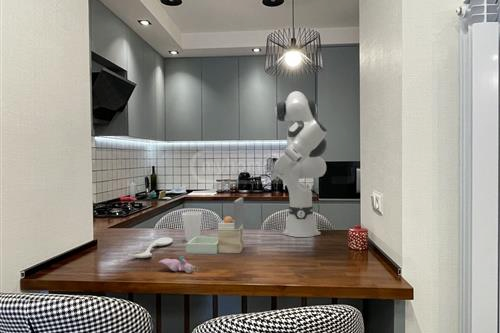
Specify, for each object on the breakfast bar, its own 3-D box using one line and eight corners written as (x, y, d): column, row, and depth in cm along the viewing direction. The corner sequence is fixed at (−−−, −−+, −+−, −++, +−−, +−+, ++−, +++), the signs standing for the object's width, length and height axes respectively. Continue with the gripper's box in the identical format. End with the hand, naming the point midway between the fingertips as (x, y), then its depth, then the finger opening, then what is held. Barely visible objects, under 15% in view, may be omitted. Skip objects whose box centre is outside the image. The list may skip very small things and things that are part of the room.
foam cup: (204, 237, 170) (203, 211, 170) (200, 242, 161) (199, 214, 161) (185, 237, 171) (185, 211, 171) (180, 242, 162) (179, 214, 162)
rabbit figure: (200, 273, 121) (164, 263, 126) (202, 257, 120) (165, 247, 125) (191, 279, 115) (153, 268, 120) (193, 262, 114) (155, 252, 119)
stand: (223, 247, 151) (222, 226, 151) (243, 247, 150) (243, 226, 150) (218, 252, 142) (217, 231, 142) (239, 253, 141) (239, 231, 141)
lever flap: (243, 225, 152) (243, 197, 152) (238, 232, 138) (237, 201, 138) (224, 225, 153) (223, 197, 153) (216, 231, 140) (215, 201, 139)
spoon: (127, 262, 132) (126, 253, 132) (157, 242, 164) (157, 235, 164) (149, 262, 132) (149, 253, 131) (175, 242, 163) (175, 235, 163)
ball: (224, 224, 148) (224, 215, 148) (233, 224, 148) (234, 215, 147) (222, 226, 144) (222, 216, 144) (232, 226, 144) (232, 217, 144)
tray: (195, 245, 155) (195, 236, 155) (223, 245, 153) (223, 236, 153) (186, 253, 142) (185, 243, 142) (216, 254, 140) (216, 244, 140)
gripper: (292, 151, 151) (272, 174, 153) (285, 147, 132) (262, 173, 133) (303, 160, 150) (282, 184, 152) (298, 157, 130) (274, 184, 132)
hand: (273, 179), depth 143 cm, fingers open, 8 cm apart
